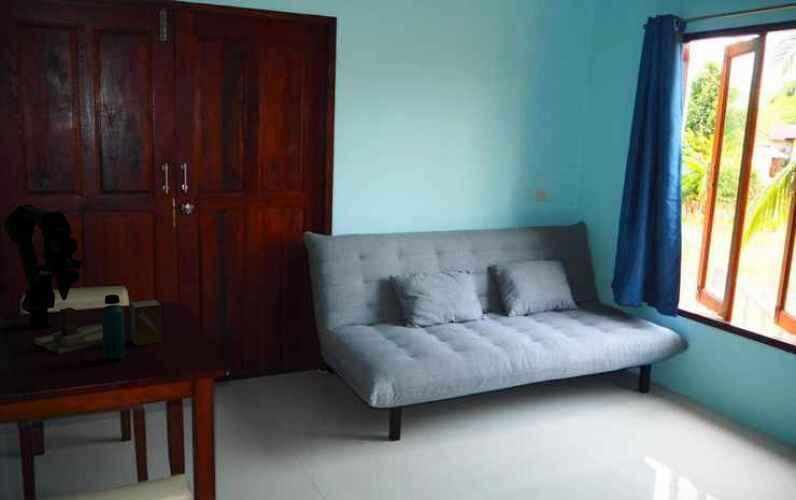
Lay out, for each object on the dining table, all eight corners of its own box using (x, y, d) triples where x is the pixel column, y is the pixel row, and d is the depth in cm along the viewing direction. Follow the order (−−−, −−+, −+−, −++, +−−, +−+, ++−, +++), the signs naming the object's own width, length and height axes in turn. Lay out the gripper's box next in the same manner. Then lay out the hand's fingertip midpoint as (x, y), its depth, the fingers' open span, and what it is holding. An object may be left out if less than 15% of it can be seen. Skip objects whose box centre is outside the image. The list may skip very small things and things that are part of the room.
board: (33, 343, 221) (33, 338, 221) (97, 327, 239) (97, 323, 239) (59, 354, 213) (59, 349, 212) (123, 337, 230) (123, 332, 230)
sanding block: (53, 341, 219) (51, 308, 217) (71, 337, 224) (69, 304, 221) (67, 347, 214) (65, 313, 212) (85, 342, 219) (83, 309, 217)
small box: (136, 346, 222) (134, 307, 219) (131, 340, 227) (129, 302, 225) (161, 342, 226) (160, 304, 224) (156, 337, 232) (155, 299, 229)
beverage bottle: (112, 365, 206) (109, 299, 202) (98, 360, 209) (95, 295, 205) (131, 359, 211) (128, 295, 207) (117, 354, 214) (114, 291, 211)
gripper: (93, 251, 225) (95, 298, 228) (62, 243, 235) (64, 288, 238) (60, 256, 216) (63, 304, 219) (29, 248, 226) (32, 294, 229)
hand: (56, 297), depth 227 cm, fingers open, 9 cm apart
